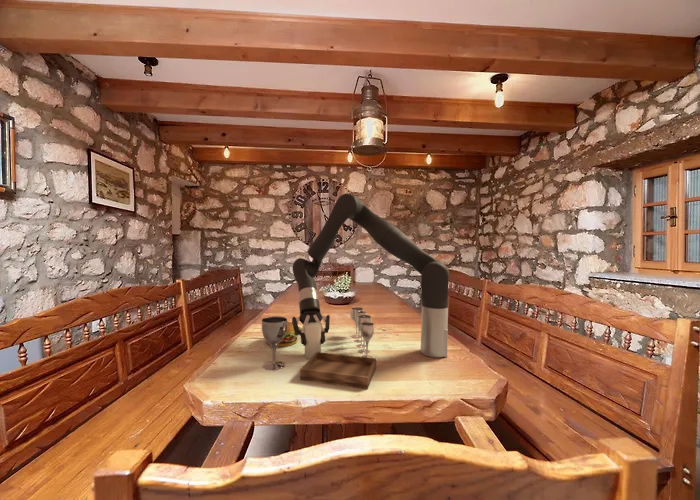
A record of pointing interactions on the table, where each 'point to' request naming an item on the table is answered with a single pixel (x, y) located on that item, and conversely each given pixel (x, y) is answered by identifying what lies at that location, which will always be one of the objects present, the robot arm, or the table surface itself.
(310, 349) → the dome-topped cylinder
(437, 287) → the robot arm
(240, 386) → the table surface
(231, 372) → the table surface
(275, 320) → the wine glass
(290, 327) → the food
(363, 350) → the goblet set
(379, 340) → the table surface
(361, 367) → the serving tray
